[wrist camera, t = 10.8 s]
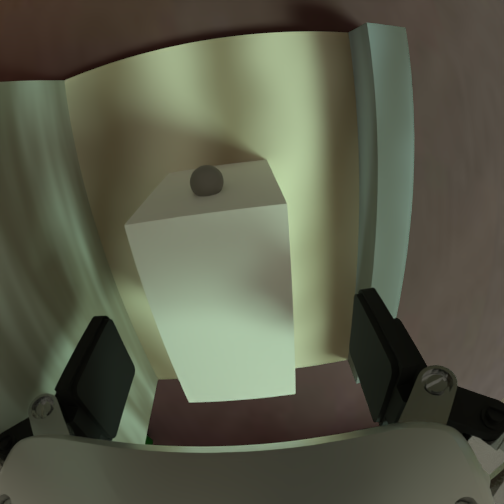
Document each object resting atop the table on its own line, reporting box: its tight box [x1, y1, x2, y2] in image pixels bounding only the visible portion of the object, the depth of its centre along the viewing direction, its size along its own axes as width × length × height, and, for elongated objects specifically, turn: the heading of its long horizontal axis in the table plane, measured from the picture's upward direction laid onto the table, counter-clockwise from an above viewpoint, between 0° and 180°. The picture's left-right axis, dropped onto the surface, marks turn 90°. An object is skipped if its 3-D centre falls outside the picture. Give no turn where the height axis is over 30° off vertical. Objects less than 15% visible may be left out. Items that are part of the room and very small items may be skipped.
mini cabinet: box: [124, 160, 296, 402], centre depth 14 cm, size 5×10×7 cm, turn 6°
